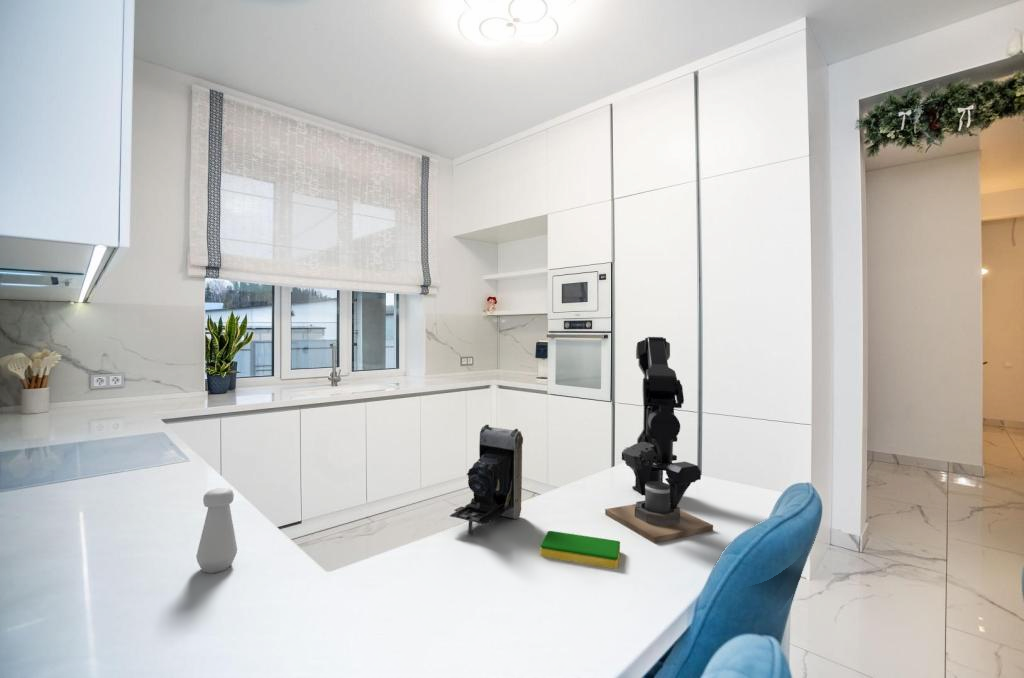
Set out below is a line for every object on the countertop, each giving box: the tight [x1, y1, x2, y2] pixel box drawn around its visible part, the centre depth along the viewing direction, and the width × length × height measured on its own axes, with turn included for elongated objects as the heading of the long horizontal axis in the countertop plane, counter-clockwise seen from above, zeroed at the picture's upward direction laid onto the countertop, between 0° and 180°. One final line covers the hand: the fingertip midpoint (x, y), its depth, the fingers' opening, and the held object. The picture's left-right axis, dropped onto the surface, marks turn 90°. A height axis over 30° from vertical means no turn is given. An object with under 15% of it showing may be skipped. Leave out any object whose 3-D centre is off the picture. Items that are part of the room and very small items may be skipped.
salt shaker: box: [195, 487, 238, 574], centre depth 78 cm, size 6×6×13 cm
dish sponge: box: [540, 530, 621, 569], centre depth 87 cm, size 7×14×2 cm, turn 73°
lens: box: [644, 481, 670, 514], centre depth 103 cm, size 5×5×7 cm
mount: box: [604, 500, 714, 544], centre depth 103 cm, size 16×16×3 cm
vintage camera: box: [449, 424, 524, 536], centre depth 99 cm, size 10×16×20 cm, turn 152°
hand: (657, 501), depth 103 cm, fingers open, 9 cm apart
